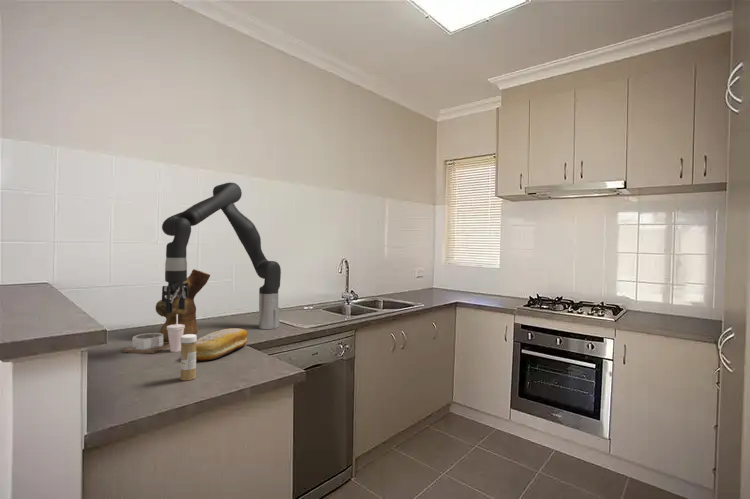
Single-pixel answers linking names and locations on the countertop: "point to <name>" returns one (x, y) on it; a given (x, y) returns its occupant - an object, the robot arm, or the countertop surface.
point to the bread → (220, 343)
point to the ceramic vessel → (189, 313)
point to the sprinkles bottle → (188, 356)
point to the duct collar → (147, 343)
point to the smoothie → (175, 335)
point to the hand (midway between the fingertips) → (175, 311)
